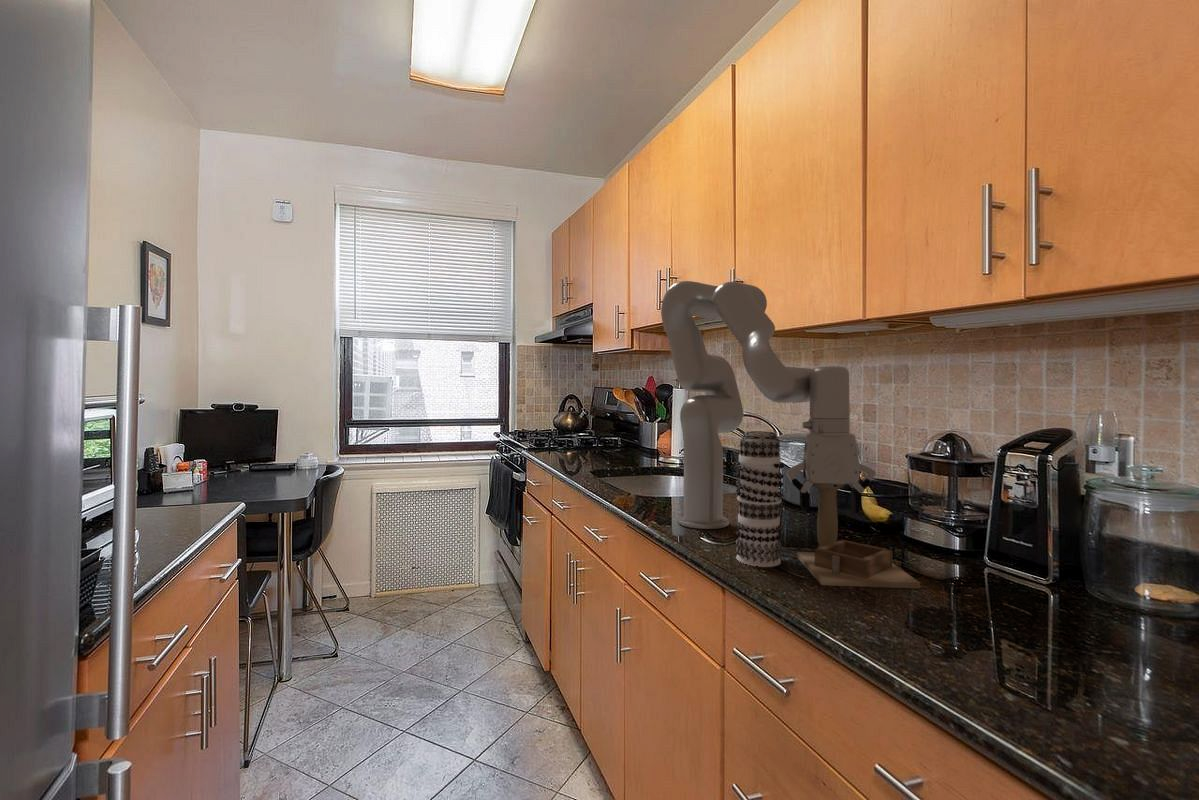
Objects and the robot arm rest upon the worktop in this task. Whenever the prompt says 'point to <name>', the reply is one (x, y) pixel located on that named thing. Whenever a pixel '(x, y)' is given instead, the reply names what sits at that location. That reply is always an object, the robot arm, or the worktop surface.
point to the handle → (827, 513)
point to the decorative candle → (759, 499)
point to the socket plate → (849, 580)
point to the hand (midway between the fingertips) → (830, 511)
